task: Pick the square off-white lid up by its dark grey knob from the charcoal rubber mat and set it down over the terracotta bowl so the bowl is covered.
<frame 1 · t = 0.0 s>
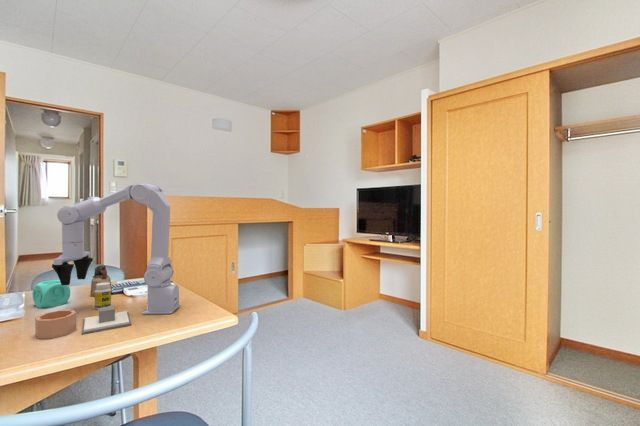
hand: (73, 282, 105), 10 cm above the table, tool pointing down, fingers open, 7 cm apart
figurine: (101, 294, 125), on the table
mat: (106, 323, 96), on the table
bowl: (56, 332, 89), on the table
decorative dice: (51, 304, 113), on the table
supplement bottle: (103, 307, 110), on the table
lid: (106, 321, 96), resting on mat
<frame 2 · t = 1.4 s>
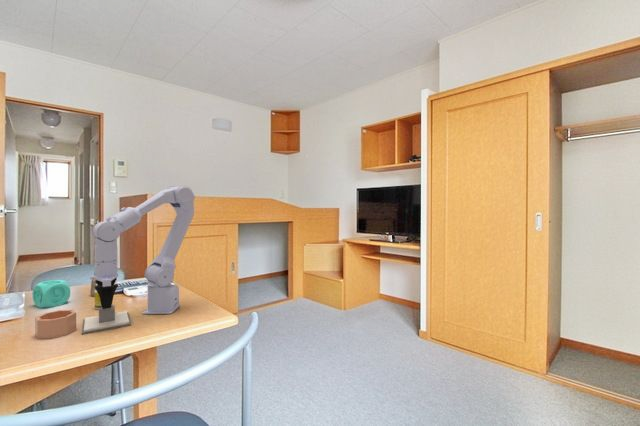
hand: (106, 304, 96), 6 cm above the table, tool pointing down, fingers open, 7 cm apart
nothing on the table moved.
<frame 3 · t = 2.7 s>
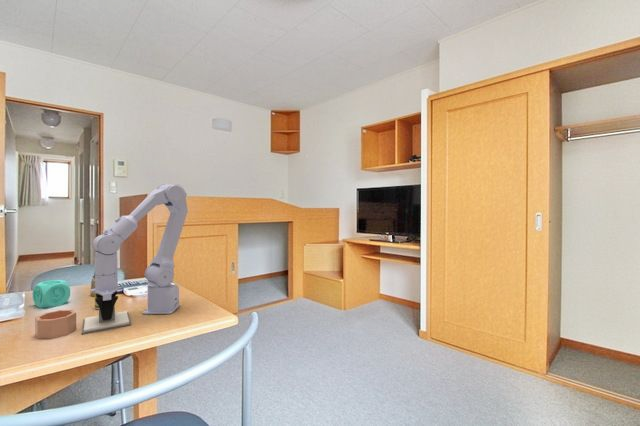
hand: (106, 317, 96), 2 cm above the table, tool pointing down, fingers closed on lid, 4 cm apart
lid: (106, 321, 96), resting on mat, touching gripper
everything else where it was.
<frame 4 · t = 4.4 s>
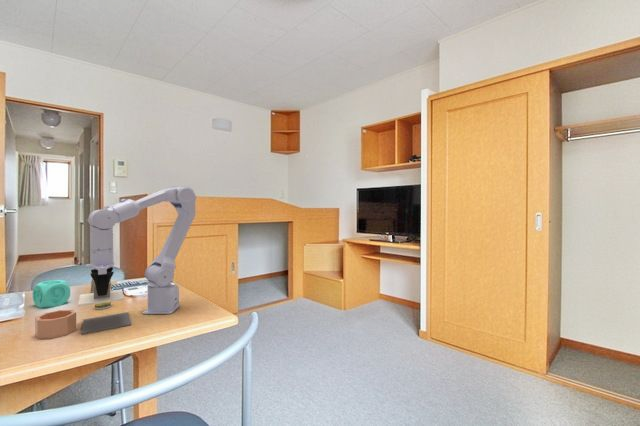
hand: (102, 293, 95), 9 cm above the table, tool pointing down, fingers closed on lid, 4 cm apart
lid: (101, 298, 95), point 8 cm above the table, touching gripper
everything else where it was.
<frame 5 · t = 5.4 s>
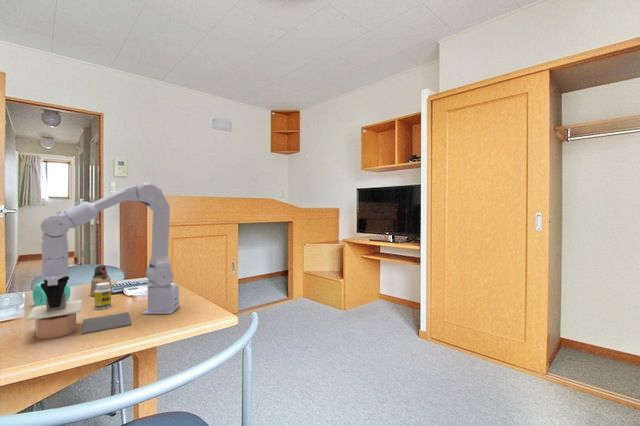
hand: (55, 305, 89), 8 cm above the table, tool pointing down, fingers closed on lid, 4 cm apart
lid: (57, 310, 89), point 6 cm above the table, touching gripper
everything else where it was.
when the fingers open (7 cm above the table, at t = 6.3 s): lid stays where it is, resting on bowl.
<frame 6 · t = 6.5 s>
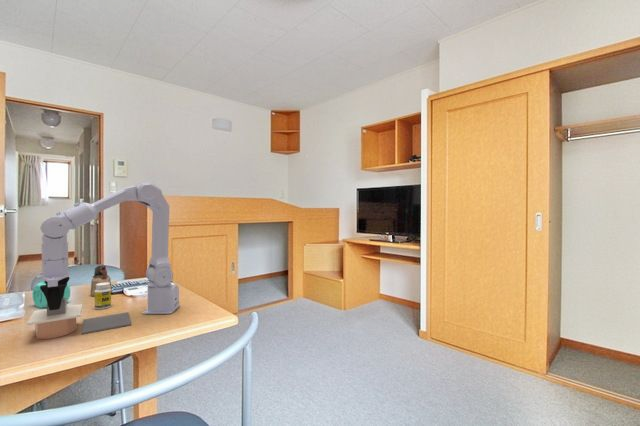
hand: (56, 306, 89), 8 cm above the table, tool pointing down, fingers open, 6 cm apart
lid: (57, 314, 89), point 5 cm above the table, touching bowl
everything else where it was.
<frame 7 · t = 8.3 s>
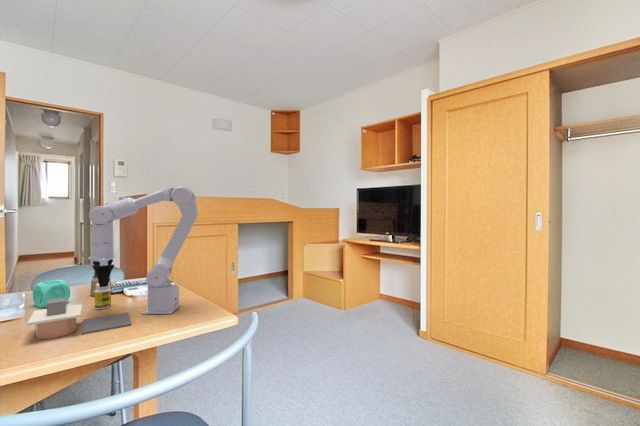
hand: (103, 283, 102), 10 cm above the table, tool pointing down, fingers open, 7 cm apart
nothing on the table moved.
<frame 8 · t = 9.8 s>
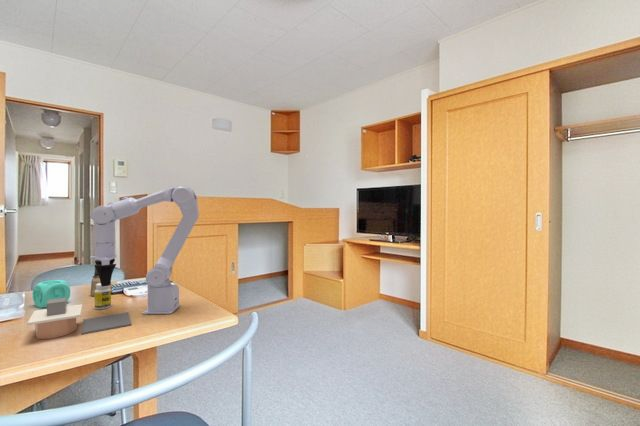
hand: (105, 283, 103), 10 cm above the table, tool pointing down, fingers open, 7 cm apart
nothing on the table moved.
at the end: lid 0.2 cm off-centre on the bowl, point 5.0 cm above the bowl's base; lid tilted 0°; the gripper is holding nothing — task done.
